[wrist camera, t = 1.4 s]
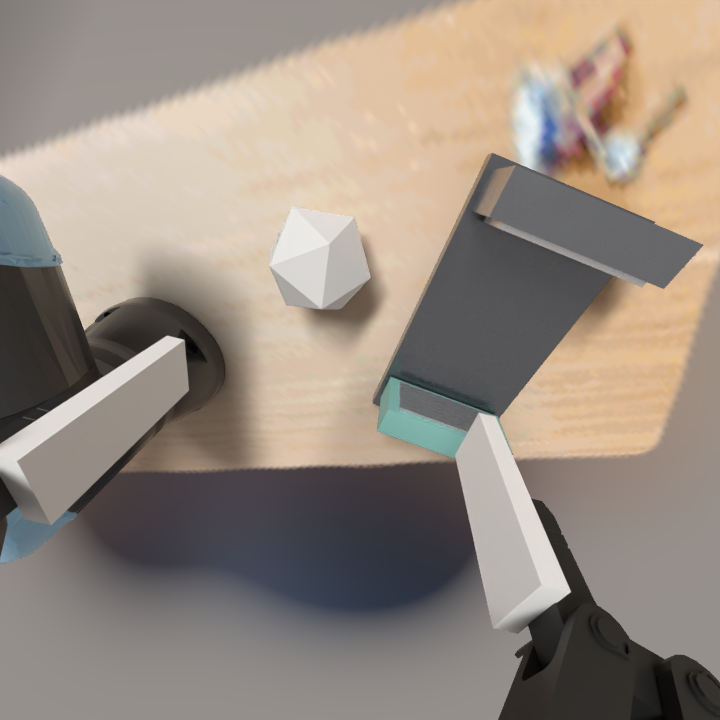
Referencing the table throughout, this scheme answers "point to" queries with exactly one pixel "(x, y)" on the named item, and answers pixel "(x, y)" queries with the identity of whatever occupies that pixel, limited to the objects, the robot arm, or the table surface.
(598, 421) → the table surface
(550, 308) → the vise base
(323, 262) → the die
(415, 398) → the bar
